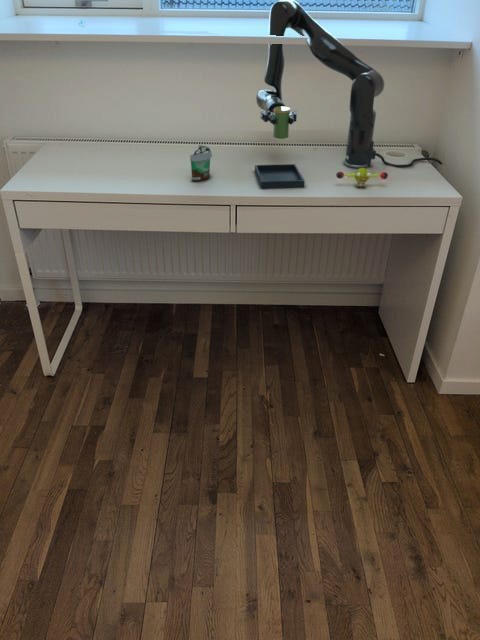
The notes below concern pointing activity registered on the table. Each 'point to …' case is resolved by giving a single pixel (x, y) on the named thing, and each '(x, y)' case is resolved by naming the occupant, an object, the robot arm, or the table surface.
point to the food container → (200, 164)
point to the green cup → (281, 122)
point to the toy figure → (362, 176)
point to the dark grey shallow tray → (279, 176)
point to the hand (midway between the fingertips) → (282, 121)
